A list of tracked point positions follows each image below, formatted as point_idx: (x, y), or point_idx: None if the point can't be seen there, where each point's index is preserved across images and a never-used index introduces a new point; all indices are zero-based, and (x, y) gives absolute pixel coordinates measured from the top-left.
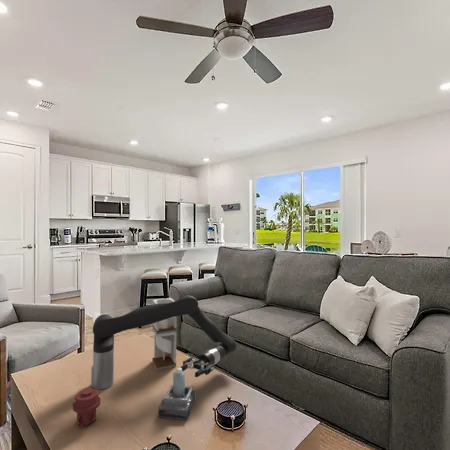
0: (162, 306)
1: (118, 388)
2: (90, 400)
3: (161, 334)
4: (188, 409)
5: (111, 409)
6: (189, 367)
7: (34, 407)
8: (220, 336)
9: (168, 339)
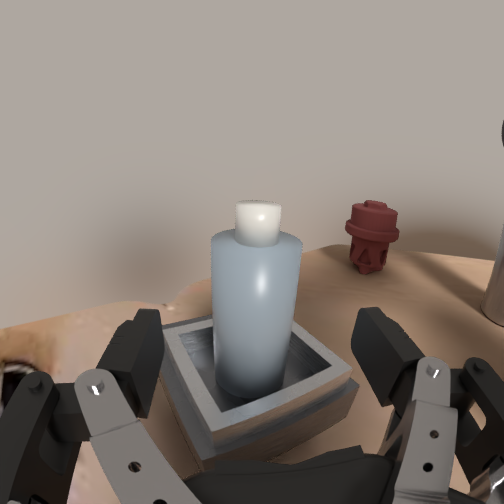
0: None
1: (479, 329)
2: (352, 209)
3: None
4: None
5: (387, 295)
6: (386, 435)
7: (444, 255)
8: None
9: None
